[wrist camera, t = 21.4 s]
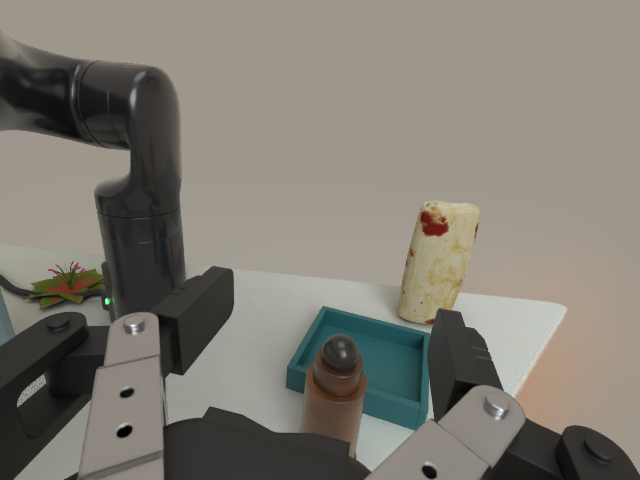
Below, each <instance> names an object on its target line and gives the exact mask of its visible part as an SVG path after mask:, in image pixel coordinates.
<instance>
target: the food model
mask: <svg viewBox="0 0 640 480" xmlns="http://www.w3.org/2000/svg"><path fill="white" fill-rule="evenodd" d="M479 217H480V210H479V208H478V207H477V206H475V205H473V204H470V203H448V202H442V201H439V200H437V201H428V202H425V203H424V204H423V205H422V207H421V209H420V212H419V215H418V219H417V222H416V226H415V229H414V233H413V236H412V240H411V244H410V248H409V252H408V256H407V260H406V266H405V271H404V276H403V281H402V287H401V295H400V301H399V306H398V314H399V316H400V317H402V318H403V319H406V320H407V321H410V322H415V323H422V324H434V320H435V316H436V313H437V310H438V309H439V308H442V309H447V310H451V309H452V307H453V305H454V303H455V300H456V298H457V295H458V293H459V291H460V288H461V286H462V283H463V281H464V278H465V275H466V272H467V270H468V267H469V263H470V259H471V255H472V252H473V247H474V242H475V238H476V232H477V228H478V223H479Z"/></svg>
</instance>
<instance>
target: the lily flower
mask: <svg viewBox="0 0 640 480" xmlns="http://www.w3.org/2000/svg"><path fill="white" fill-rule="evenodd" d="M64 264H65V263H64ZM72 264H73V261H72V263H71V266H72ZM77 265H78V263H77V264H76V265H75V267H76V268H75V267H74V268H73V270H72V272H71V267H70V273H69V272H68V273H64V272H63V270H62V269H61V268H60V267H59V266H58V265H56V266H57V267H58V268H60V269H61V271H62V273H60V272H57V271H54V270H52V269H48V271H53V272H54V273H55V274H57V273H59V274H60V275H59V274H57V276H55V277H53V278H54V279H48V280H43V281H39V282H37V283H31V284H32V285H34V287H35V288H36V289H35V290H34V291H33V292H45V293H44V294H40V295H37V296H44V297H43V298H42V299H41V300H40V306H41V307H40V309H43V308H45V307H48V306H50V305H53V304H55V303H58V302H61V301H63V300H66V299H69V300H72V301H74V302H77V303H78V304H80V303H81V301H82V299H83V297H84V296H75V295H74V294H66V293H76V292H84V291H86V290H89V289H105V285H104V284H101V283H97V282H99V281H100V280H103V275H101V274H96V271H95V270H96V269H94V270H89V271H84V268H83V269H82V270H81V272H80V273H75V270H77V269H79V268H81V267H78V268H77ZM74 269H75V270H74ZM65 270H66V269H65ZM66 271H67V270H66ZM82 271H83V272H82ZM57 294H60V296H62V297H60V298H58V297H52V296H47V295H57ZM32 297H36V295H33V294H29V296H28V297H26V298H25V299H28V298H32ZM23 300H24V299H23ZM40 309H39V310H40Z"/></svg>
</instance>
